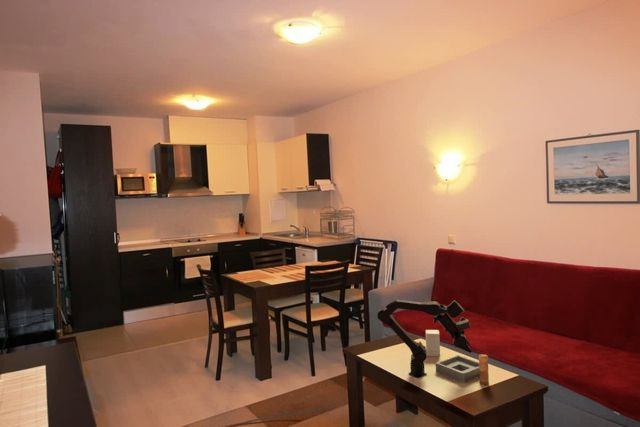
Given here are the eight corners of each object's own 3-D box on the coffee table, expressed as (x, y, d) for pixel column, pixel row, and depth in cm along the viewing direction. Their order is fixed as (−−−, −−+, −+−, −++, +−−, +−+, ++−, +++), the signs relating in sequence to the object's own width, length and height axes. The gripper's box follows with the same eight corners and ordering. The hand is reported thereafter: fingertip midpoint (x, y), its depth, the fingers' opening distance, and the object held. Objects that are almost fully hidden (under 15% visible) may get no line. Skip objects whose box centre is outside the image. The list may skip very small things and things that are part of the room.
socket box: (463, 383, 205) (463, 373, 205) (435, 371, 219) (435, 363, 219) (486, 373, 214) (485, 364, 214) (458, 363, 228) (457, 354, 228)
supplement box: (440, 356, 239) (439, 333, 238) (426, 356, 240) (425, 333, 240) (439, 351, 246) (438, 329, 246) (426, 351, 248) (425, 329, 247)
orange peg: (485, 385, 201) (484, 358, 200) (477, 383, 204) (477, 355, 204) (490, 383, 203) (489, 356, 203) (483, 380, 206) (482, 353, 206)
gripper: (462, 319, 201) (486, 345, 199) (459, 308, 219) (481, 332, 217) (444, 333, 203) (467, 359, 202) (442, 322, 222) (463, 346, 220)
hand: (470, 348), depth 210 cm, fingers open, 9 cm apart
